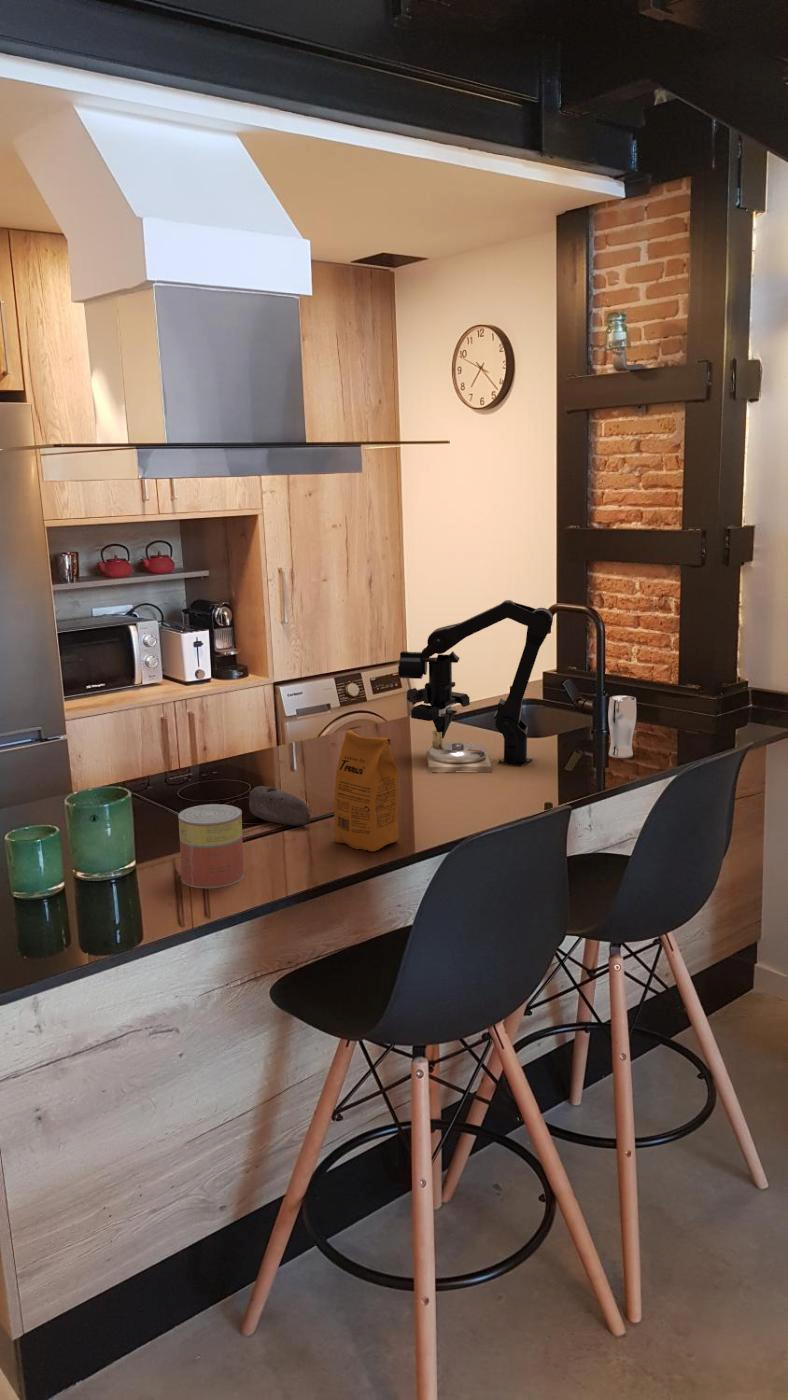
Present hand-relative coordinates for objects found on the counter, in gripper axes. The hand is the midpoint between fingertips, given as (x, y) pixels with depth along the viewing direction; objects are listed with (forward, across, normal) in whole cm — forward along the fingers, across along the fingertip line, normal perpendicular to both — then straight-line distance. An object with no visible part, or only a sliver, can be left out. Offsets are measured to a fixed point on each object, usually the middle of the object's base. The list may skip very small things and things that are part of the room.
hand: (441, 738), depth 274 cm
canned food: (0, +92, +11) cm, 93 cm away
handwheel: (+3, +1, +6) cm, 7 cm away
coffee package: (+2, +62, +23) cm, 66 cm away
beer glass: (+6, -28, +36) cm, 46 cm away
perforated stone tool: (+2, +62, +1) cm, 62 cm away
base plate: (+5, +2, +6) cm, 8 cm away
